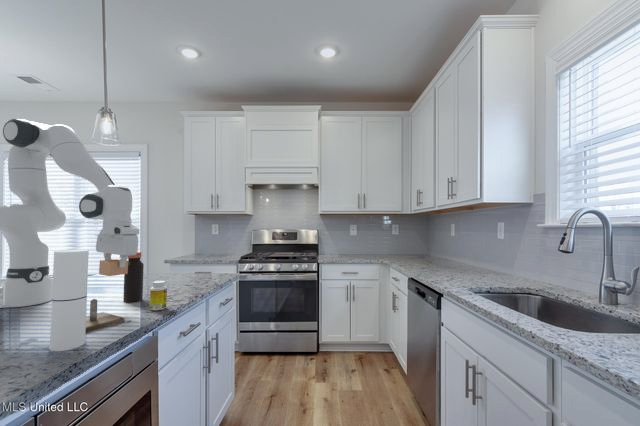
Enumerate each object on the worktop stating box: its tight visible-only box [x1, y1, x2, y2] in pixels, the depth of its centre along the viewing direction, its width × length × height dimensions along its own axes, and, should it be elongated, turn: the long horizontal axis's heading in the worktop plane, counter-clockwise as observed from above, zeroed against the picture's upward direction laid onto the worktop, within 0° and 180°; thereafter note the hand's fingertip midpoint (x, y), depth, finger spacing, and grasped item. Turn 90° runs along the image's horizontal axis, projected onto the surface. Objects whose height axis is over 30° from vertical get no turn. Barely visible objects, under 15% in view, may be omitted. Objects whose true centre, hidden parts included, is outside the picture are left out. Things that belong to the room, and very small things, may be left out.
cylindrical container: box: [49, 249, 90, 352], centre depth 79 cm, size 7×7×25 cm
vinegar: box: [122, 251, 144, 303], centre depth 125 cm, size 7×7×20 cm
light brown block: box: [98, 258, 128, 277], centre depth 110 cm, size 6×6×5 cm
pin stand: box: [85, 298, 125, 334], centre depth 95 cm, size 12×12×8 cm
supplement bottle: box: [149, 280, 168, 311], centre depth 113 cm, size 6×6×10 cm
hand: (115, 266), depth 111 cm, fingers closed on light brown block, 6 cm apart
